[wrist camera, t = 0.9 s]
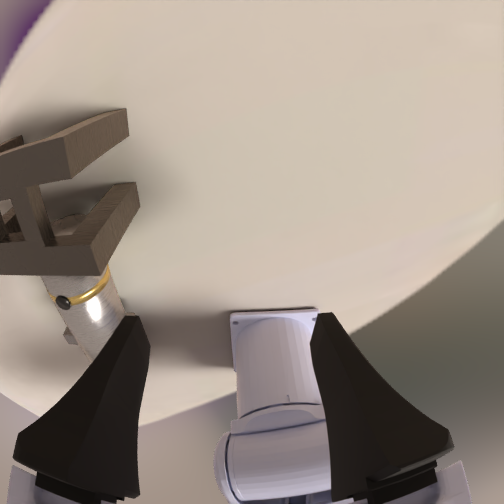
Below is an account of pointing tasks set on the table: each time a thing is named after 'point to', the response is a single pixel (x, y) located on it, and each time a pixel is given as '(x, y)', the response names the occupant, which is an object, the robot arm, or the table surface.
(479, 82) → the table surface
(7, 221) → the brown bracket plates
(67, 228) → the grey metal cylinder
